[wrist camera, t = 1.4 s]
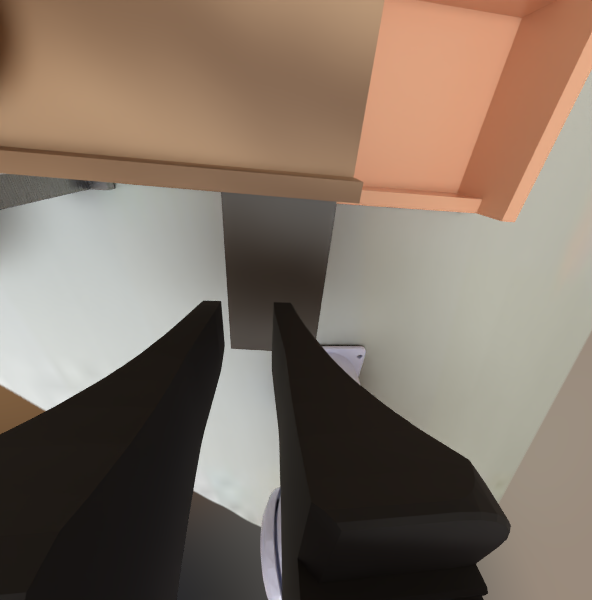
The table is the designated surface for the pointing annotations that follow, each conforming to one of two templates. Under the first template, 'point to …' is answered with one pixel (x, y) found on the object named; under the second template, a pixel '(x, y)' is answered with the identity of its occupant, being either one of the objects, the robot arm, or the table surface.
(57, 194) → the pivot stand
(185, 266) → the table surface
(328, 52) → the tipping chute
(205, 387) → the robot arm
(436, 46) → the tray
